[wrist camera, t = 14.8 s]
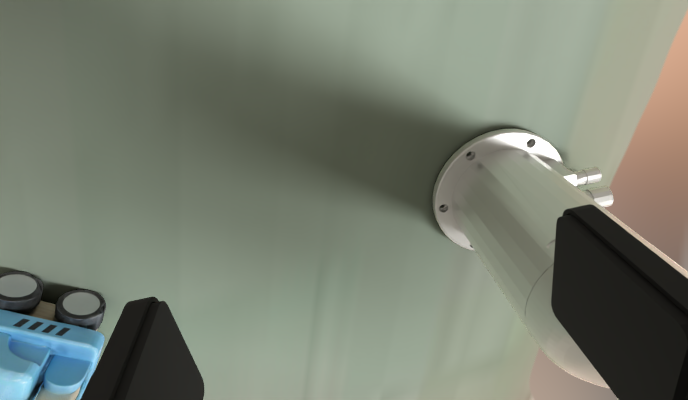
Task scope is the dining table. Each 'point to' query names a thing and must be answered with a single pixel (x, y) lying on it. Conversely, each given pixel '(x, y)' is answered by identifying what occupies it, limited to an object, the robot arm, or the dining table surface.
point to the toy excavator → (47, 340)
